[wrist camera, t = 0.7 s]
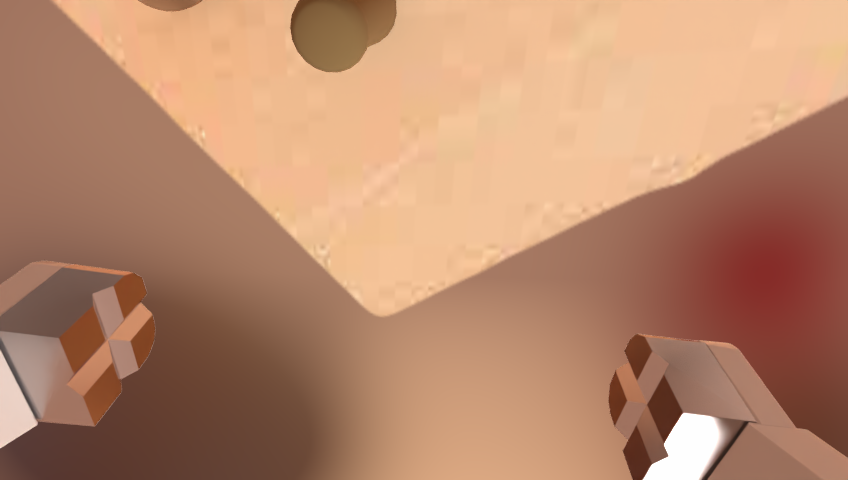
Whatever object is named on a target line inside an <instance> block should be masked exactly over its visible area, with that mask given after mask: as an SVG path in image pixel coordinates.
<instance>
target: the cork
mask: <svg viewBox="0 0 848 480" xmlns="http://www.w3.org/2000/svg"><path fill="white" fill-rule="evenodd" d="M395 18H396V0H299V1H298V3H297V5H296V7H295V9H294V11H293V14H292V18H291V27H290V28H291V34H292V40H293V42H294V45H295V47H296V49H297V51H298V53H299V54H300V55H301V56H302V57H303V59H304V60H305V61H306V62H307V63H309V64H310V65H312V66H313V67H315V68H316V69H319V70H322V71H325V72H341V71H344V70H347V69H350V68H351V67H353V66H354V65H355V64H356V63H358V62H359V61H360V59H361V58H362V56H363V55H364V53H365V51H366V50H367V47H369V46H371V45H373V44H376V43H378V42H380V41H381V40H382V39H383V38H385V37H386V36H387V35H388V34H389V32H390V30H391V29H392V27H393V26H394V22H395Z"/></svg>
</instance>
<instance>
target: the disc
mask: <svg viewBox="0 0 848 480" xmlns="http://www.w3.org/2000/svg"><path fill="white" fill-rule="evenodd" d="M138 1H140V2H142V3H143V4H145V5H147V6H150V7H152V8H155V9H158V10H163V11H180V10H184V9H187V8H190V7H193V6H194V5H196V4H198V3H199V2H201V1H202V0H138Z"/></svg>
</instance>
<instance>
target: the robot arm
mask: <svg viewBox="0 0 848 480" xmlns="http://www.w3.org/2000/svg"><path fill="white" fill-rule="evenodd" d="M146 294H147V291H146V288H145V285H144V282H143V279H142V277H141V276H138V275H137V274H135V273H132V272H125V271H118V270H111V269H104V268H97V267H90V266H83V265H77V264H74V265H71V264H66V263H59V262H52V261H45V260H44V261H38V262H33V263H31V264H29V265H27V266H26V267H25V268H23V269H22V270H20V271H19V272H18V273H16V274H15V275H13V276H12V277H11V278H9V279H8V280H6V281H5V282H4V283H2V284H1V285H0V448H1V447H3V446H5V445H6V444H8V443H9V442H11V441H12V440H14V439H16V438H17V437H19V436H20V435H21V434H23V433H25V432H26V431H28V430H30V429H31V428H33V427H34V426H36V425H37V421H41V422H52V423H64V424H74V425H85V426H86V425H87V426H96V424H97V423H98V422H99V420H100V419H101V418H102V416H103V415H104V414H105V413H106V411H107V410H108V409H109V407H110V406H111V405H112V403H113V402H114V401H115V400H116V398H117V397H118V396H119V394H120V393H121V392H122V386H121V379H122V378H124V377H126V376H128V375H130V374H131V373H133V372H135V371H137V370H139V368H140V367H141V366H142V364H143V363H144V362H145V360H146V359H147V357H148V356H149V354H150V351H151V348H152V345H153V343H154V340H155V322H154V319H153V314H152V313H151V312H150V311H149V310H148V309H146V307H145V306H144V305H142V304H141V302H142V300H143V299H144V297H145V296H146ZM625 354H626V356H627V359H628V361H629V362H628V363H626V364H625V365H623V366H621V367H620V368H618V369H617V370H616V371H615V373H614V375H613V378H612V380H611V383H610V390H609V408H610V414H611V417H612V420H613V423H614V426H615V427H616V428H617V429H618V430H619V431H620V432H621V433H622V434H623V435H624V436H625V437H626V438H627V439H628V441H627V443H626V446H625V448H624V450H623V453H624V456H625V459H626V461H627V465H628V467H629V470H630V473H631V476H632V479H633V480H848V458H847V457H846V456H844V455H843V454H841V453H840V452H838V451H837V450H835V449H834V448H833V447H831V446H830V445H828V444H827V443H825V442H824V441H823V440H821V439H820V438H818V437H817V436H815V435H814V434H813V433H811V432H810V431H808V430H806V429H798V428H796V427H795V426H794V425H793V423H792V422H791V420H790V419H789V417H788V416H787V415H786V413H785V412H784V411H783V409H782V408H781V407H780V405H779V404H778V402H777V401H776V400H775V398H774V397H773V396H772V394H771V393H770V391H769V390H768V389H767V387H766V386H765V385H764V383H763V382H762V380H761V379H760V378H759V376H758V375H757V374H756V372H755V371H754V369H753V368H752V367H751V365H750V364H749V363H748V361H747V360H746V358H745V357H744V356H743V354H742V353H741V352H740V350H739V349H737V348H736V347H735V346H733V345H732V344H730V343H722V342H712V341H702V340H698V341H694V340H686V339H677V338H668V337H660V336H651V335H643V334H636V335H634V336H633V337H632V338H631V339H630V341H629V343H628V344H627V347H626V349H625Z"/></svg>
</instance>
